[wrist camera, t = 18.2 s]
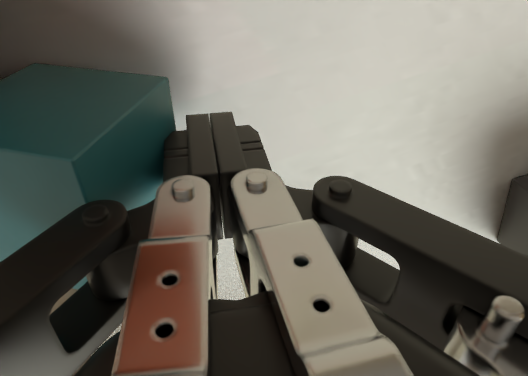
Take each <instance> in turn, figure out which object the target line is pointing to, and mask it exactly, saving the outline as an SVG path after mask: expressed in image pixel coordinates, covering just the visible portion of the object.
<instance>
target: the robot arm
mask: <svg viewBox="0 0 528 376" xmlns="http://www.w3.org/2000/svg"><path fill="white" fill-rule="evenodd" d="M186 124H187V130H184V131H173V132H172V133H171V134H170V135H169V136H168V137H167V138H166V139H165V140H164V162H163V183H162V184H161V185H160V186H159V187H158V189H157V191H156V196H155V199H154V200H152V201H151V202H149V203H147V204H145V205H143V206H140V207H137V208H134V209H131V210H128V211H127V210H126V207H125V206H124V205H123V204H122V203H120V202H118V201H114V200H97V201H92V202H89V203H86V204H84V205H82V206H80V207H78V208H77V209H75V210H74V211H72V212H71V213H69V214H68V215H67V216H65V217H64V218H62V219H61V220H59V221H58V222H57V223H55V224H54V225H52V226H51V227H50V228H48V229H47V230H45V231H44V232H42V233H41V234H40V235H38V236H37V237H35V238H34V239H33V240H31V241H30V242H28V243H27V244H25V245H24V246H23V247H21V248H20V249H18V250H17V251H16V252H14V253H13V254H11V255H10V256H8V257H7V258H6V259H4V260H3V261H1V262H0V376H72V375H73V374H74V373H75V372H76V371H77V370H78V369H79V368H80V367H81V366H82V365H83V364H84V362H85V361H86V360H87V359H88V358H89V357H90V356H91V355H92V354H93V353H94V352H95V353H94V354H93V355H92V356H91V357H90V358H89V359H88V360H87V361H86V363H85V364H84V365H83V366H82V367H81V368H80V369H79V371H78V372H77V373H76V374H75V375H74V376H528V256H526V255H524V254H521V253H519V252H517V251H514V250H512V249H510V248H508V247H505V246H503V245H501V244H499V243H496V242H494V241H492V240H490V239H487V238H485V237H483V236H481V235H478V234H476V233H474V232H471V231H469V230H467V229H465V228H462V227H460V226H458V225H456V224H453V223H451V222H449V221H447V220H444V219H442V218H440V217H437V216H435V215H433V214H431V213H428V212H426V211H424V210H422V209H419V208H417V207H415V206H413V205H410V204H408V203H406V202H404V201H401V200H399V199H397V198H394V197H392V196H390V195H388V194H385V193H383V192H381V191H379V190H376V189H374V188H372V187H370V186H367V185H365V184H363V183H361V182H358V181H356V180H354V179H351V178H348V177H343V176H330V177H325V178H322V179H320V180H319V181H318V182H316V184H315V185H314V188H313V190H304V189H296V188H292V187H289V186H286V185H285V184H284V183H283V181H282V179H281V177H280V176H279V175H278V174H276V173H275V172H273V171H272V170H271V167H270V164H269V161H268V159H267V156H266V153H265V150H264V149H263V145H262V142H261V139H260V137H259V134H258V132H257V131H256V130H255V129H253V128H252V127H251V126H249V125H243V126H236V125H235V122H234V118H233V114H232V112H222V113H210V122H209V116H208V114H197V115H186ZM210 127H211V128H210ZM221 215H222V217H221ZM222 222H223V228H224V234H225V239H226V238H233V241H234V252H235V261H236V264H237V268H238V271H239V275H240V278H241V282H242V286H243V289H244V293H245V296H246V298H245V299H242V300H221V299H218V281H217V256H216V255H217V253H218V240H219V239H223V230H222ZM358 239H361V240H363V241H365V242H367V243H369V244H371V245H373V246H374V247H376V248H378V249H380V250H382V251H384V252H386V253H388V254H389V255H391V256H392V257H393V258H394V259H395V260H396V261H397V262H398V264H399V267H400V270H398V269H396V268H394V267H392V266H391V265H389V264H387V263H385V262H383V261H381V260H379V259H378V258H376V257H374V256H372V255H370V254H368V253H367V252H365V251H363V250H361V249H359V248H357V244H358ZM85 276H86V277H87V280H88V281H87V282H86V283H85V284H84V285H83V286H82V287H81V288H79V289H78V290H77V291H76V292H75V293H74V294H73V295H72V296H70V297H69V298H68V299H67V300H66V301H65V302H64V303H63V304H61V305H60V306H59V307H58V308H57V309H56V310H55V311H54V312H52V313H51V314H50V312H51V310H52V308H53V306H54V305H55V303H56V302H57V301H58V300H59V299H60V298H61V297H62V296H63V295H65V294H66V293H67V292H68V291H69V290H70V289H71V288H73V287H74V286H75V285H76V284H77V283H78V282H79V281H81V280H82V279H83V278H84V277H85ZM121 323H122V326H121V330H120V332H118V333H116V334H115V335H114V336H113V337H111V338H110V339H109V340H107V341H106V342H105V343H104V344H103V345H102V346H101V347H99V346H100V345H101V344H102V343H103V342H104V341H105V340H106V339H107V338H108V337H109V336H110V335H111V334H112V332H113V331H114V330H115V329H116V328H117V327H118V326H119V325H120V324H121ZM98 347H99V348H98Z"/></svg>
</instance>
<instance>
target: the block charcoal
mask: <svg viewBox="0 0 528 376" xmlns="http://www.w3.org/2000/svg"><path fill="white" fill-rule="evenodd" d="M497 241H498V242H499V243H500V244H501V245H503V246H505V247H508V248H510V249H512V250H514V251H517V252H519V253H521V254H524V255H526V256H528V175H525V176H522V177H518V178H515V179H513V180H512V183H511V187H510V191H509V195H508V199H507V203H506V207H505V211H504V215H503V219H502V223H501V227H500V231H499V234H498V238H497Z"/></svg>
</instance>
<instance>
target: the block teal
mask: <svg viewBox="0 0 528 376" xmlns="http://www.w3.org/2000/svg"><path fill="white" fill-rule="evenodd" d="M173 131H176V127H175V121H174V114H173V107H172V101H171V94H170V87H169V80H168V78H167V77H161V76H151V75H142V74H132V73H123V72H113V71H104V70H94V69H85V68H75V67H66V66H56V65H47V64H37V63H34V64H32V65H30V66H28V67H26V68H24V69H22V70H20V71H18V72H16V73H14V74H12V75H10V76H8V77H6V78H4V79H2V80H0V262H1V261H3V260H4V259H6V258H7V257H8V256H10V255H11V254H13V253H14V252H16V251H17V250H18V249H20V248H21V247H23V246H24V245H25V244H27V243H28V242H30V241H31V240H33V239H34V238H35V237H37V236H38V235H40V234H41V233H42V232H44V231H45V230H47V229H48V228H50V227H51V226H52V225H54V224H55V223H57V222H58V221H59V220H61V219H62V218H64V217H65V216H67V215H68V214H69V213H71V212H72V211H74V210H75V209H77V208H78V207H80V206H82V205H84V204H86V203H89V202H92V201H97V200H114V201H118V202H120V203H122V204H123V205H124V206H125V207H126V210H127V211H128V210H131V209H134V208H137V207H140V206H143V205H145V204H147V203H149V202H151V201H152V200H154V199H155V196H156V191H157V189H158V187H159V186H160V185H161V184H162V183H163V162H164V140H165V139H166V138H167V137H168V136H169V135H170V134H171V133H172V132H173ZM87 281H88V280H87V277H86V276H85V277H84V278H83V279H82V280H81V281H79V282H78V283H77V284H76V285H75V286H74V287H73V289H77V290H78V289H79V288H81V287H82V286H83V285H84V284H85V283H86V282H87Z"/></svg>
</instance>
